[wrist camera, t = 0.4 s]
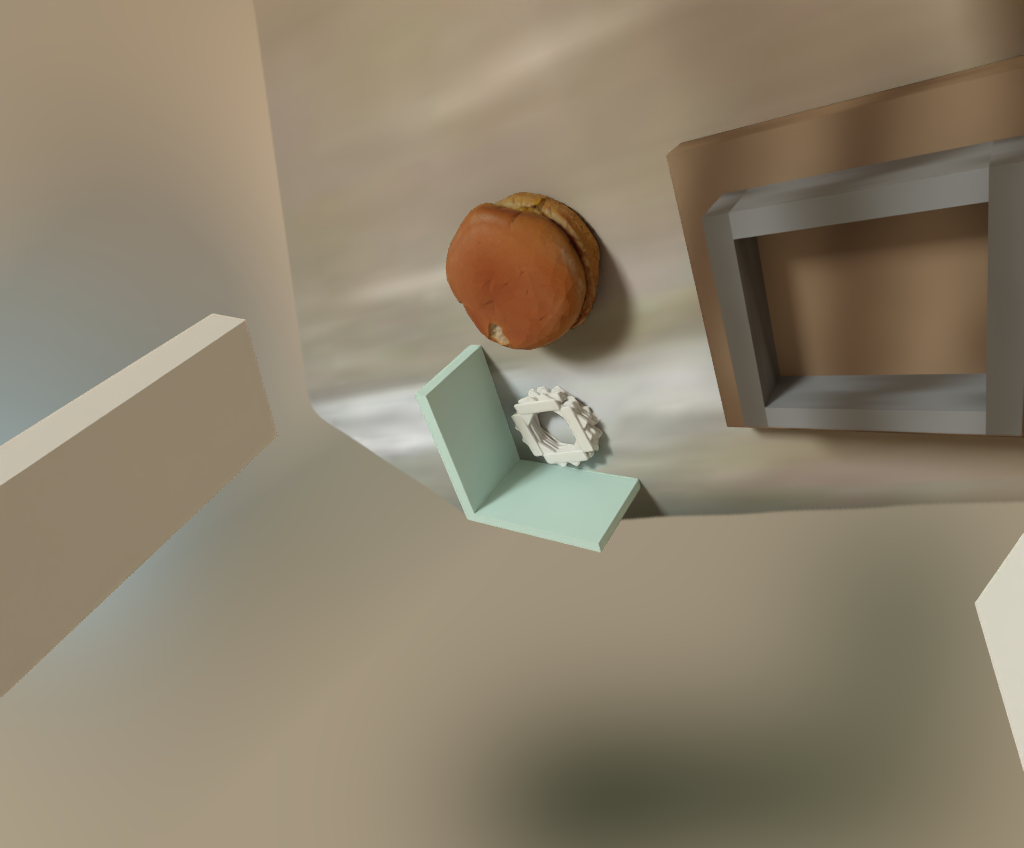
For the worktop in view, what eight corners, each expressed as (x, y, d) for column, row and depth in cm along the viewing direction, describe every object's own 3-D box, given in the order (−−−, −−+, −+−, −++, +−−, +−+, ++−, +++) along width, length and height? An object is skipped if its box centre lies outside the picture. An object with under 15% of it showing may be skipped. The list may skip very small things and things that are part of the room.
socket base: (1125, 28, 22) (1139, 62, 19) (1085, 413, 29) (1091, 483, 26) (681, 142, 32) (641, 177, 28) (737, 407, 39) (710, 457, 36)
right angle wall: (643, 482, 49) (601, 552, 44) (516, 461, 55) (467, 519, 51) (614, 346, 42) (560, 409, 38) (474, 341, 49) (414, 394, 44)
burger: (595, 186, 36) (555, 218, 33) (613, 331, 41) (580, 369, 38) (458, 189, 41) (413, 216, 38) (490, 317, 46) (452, 350, 43)
